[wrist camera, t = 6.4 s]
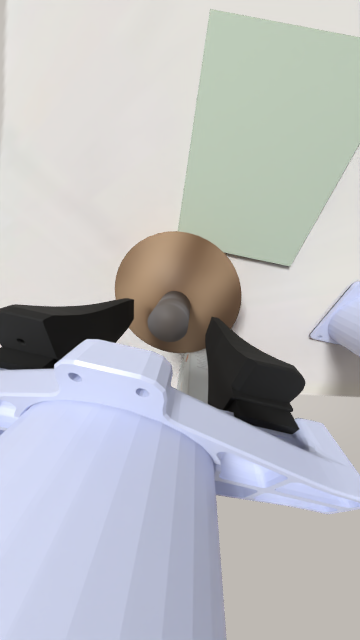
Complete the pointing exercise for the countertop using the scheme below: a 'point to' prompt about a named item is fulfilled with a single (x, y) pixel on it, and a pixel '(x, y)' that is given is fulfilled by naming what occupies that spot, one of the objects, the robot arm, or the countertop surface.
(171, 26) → the countertop surface
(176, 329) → the lid
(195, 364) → the small box
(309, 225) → the mat
